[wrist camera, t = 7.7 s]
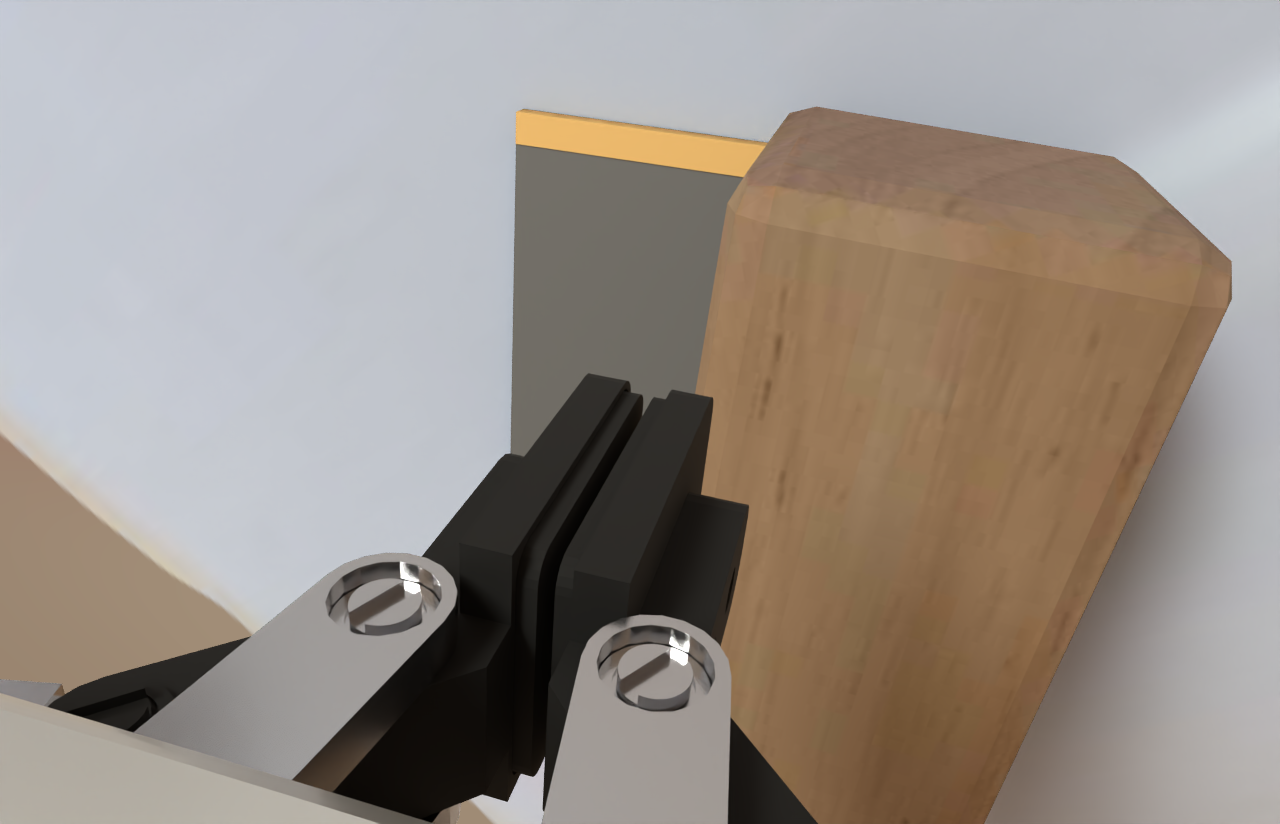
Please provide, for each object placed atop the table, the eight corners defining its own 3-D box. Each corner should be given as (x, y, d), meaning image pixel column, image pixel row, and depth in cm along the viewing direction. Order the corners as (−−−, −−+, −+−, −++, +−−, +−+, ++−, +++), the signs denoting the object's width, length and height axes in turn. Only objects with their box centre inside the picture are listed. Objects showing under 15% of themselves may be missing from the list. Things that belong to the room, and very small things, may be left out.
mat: (1109, 190, 26) (1114, 195, 25) (966, 616, 33) (967, 627, 33) (523, 109, 29) (516, 111, 28) (514, 512, 37) (509, 521, 36)
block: (1144, 156, 25) (940, 681, 34) (785, 95, 26) (687, 612, 36) (1273, 265, 16) (951, 926, 26) (727, 165, 18) (618, 821, 27)
